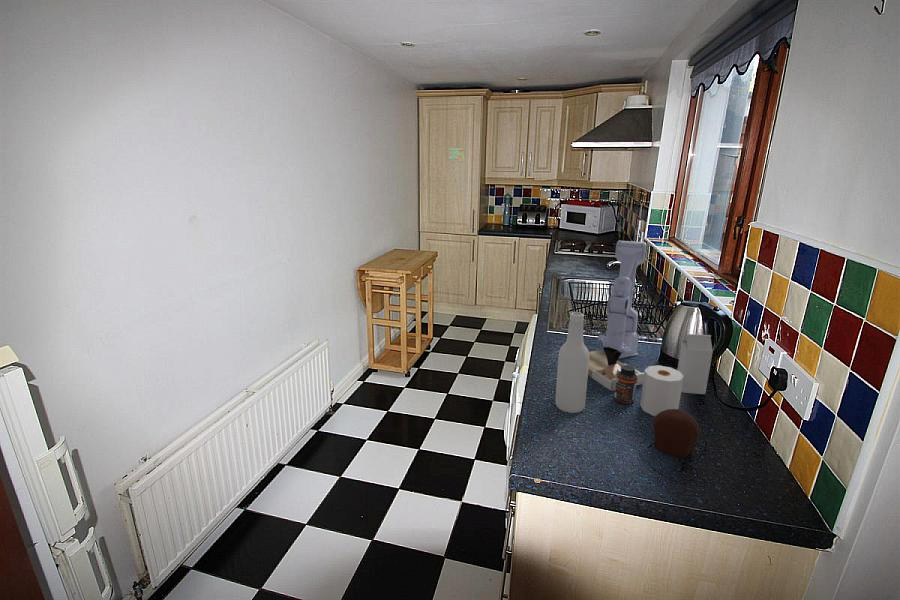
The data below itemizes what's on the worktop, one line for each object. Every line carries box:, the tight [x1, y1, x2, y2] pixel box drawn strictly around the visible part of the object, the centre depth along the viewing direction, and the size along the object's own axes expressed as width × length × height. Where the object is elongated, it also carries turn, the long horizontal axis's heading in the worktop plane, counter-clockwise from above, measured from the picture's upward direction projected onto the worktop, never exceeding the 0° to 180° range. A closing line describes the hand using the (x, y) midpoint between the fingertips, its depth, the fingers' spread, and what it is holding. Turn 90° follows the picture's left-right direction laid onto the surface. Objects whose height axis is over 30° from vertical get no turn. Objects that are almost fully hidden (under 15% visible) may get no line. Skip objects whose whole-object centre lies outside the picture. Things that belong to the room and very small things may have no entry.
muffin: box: [651, 408, 702, 458], centre depth 116 cm, size 12×11×10 cm
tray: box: [591, 363, 644, 392], centre depth 152 cm, size 14×10×4 cm
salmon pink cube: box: [605, 364, 621, 379], centre depth 154 cm, size 4×4×3 cm
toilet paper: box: [639, 364, 684, 417], centre depth 134 cm, size 10×10×12 cm
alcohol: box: [554, 311, 590, 414], centre depth 133 cm, size 9×9×30 cm
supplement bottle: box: [613, 364, 637, 405], centre depth 139 cm, size 6×6×11 cm
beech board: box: [588, 349, 625, 379], centre depth 163 cm, size 14×14×2 cm
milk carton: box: [676, 333, 713, 395], centre depth 144 cm, size 7×7×19 cm
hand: (611, 367), depth 155 cm, fingers closed, pressing on salmon pink cube
